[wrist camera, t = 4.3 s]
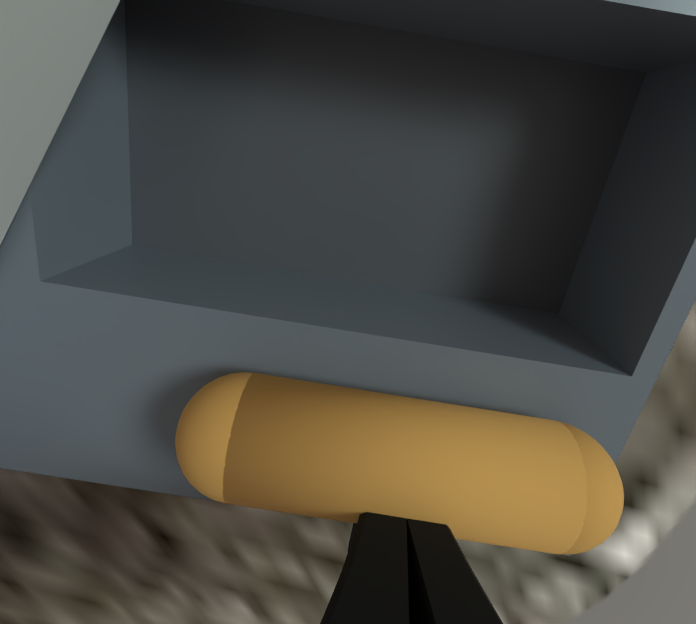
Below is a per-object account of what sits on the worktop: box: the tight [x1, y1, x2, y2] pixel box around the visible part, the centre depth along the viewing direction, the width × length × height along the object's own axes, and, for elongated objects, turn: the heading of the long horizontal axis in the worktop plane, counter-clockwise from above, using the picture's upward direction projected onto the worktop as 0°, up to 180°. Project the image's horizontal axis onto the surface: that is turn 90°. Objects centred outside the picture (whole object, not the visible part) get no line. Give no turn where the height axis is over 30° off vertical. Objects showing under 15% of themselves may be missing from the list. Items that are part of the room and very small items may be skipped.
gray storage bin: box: [0, 0, 696, 556], centre depth 8 cm, size 20×16×4 cm
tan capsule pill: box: [175, 372, 624, 554], centre depth 8 cm, size 2×8×2 cm
